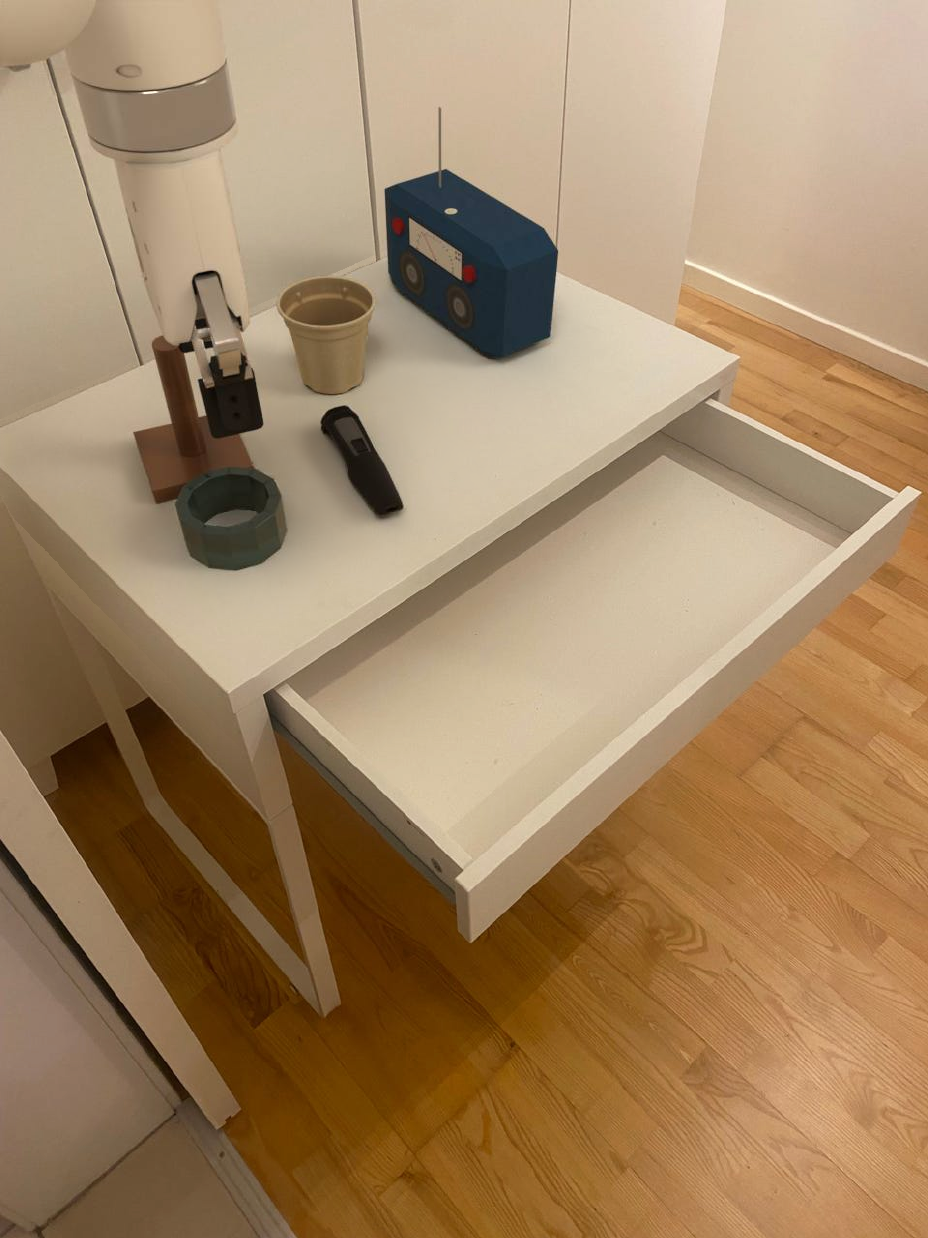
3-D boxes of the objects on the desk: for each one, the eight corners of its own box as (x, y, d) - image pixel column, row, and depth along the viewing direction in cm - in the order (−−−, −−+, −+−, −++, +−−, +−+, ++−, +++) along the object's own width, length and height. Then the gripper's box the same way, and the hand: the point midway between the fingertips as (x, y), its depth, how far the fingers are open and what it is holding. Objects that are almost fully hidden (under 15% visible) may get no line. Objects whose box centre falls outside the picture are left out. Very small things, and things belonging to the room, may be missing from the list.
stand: (156, 504, 84) (120, 383, 75) (136, 444, 90) (101, 325, 80) (256, 479, 87) (233, 359, 77) (231, 422, 92) (207, 304, 83)
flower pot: (362, 344, 102) (356, 267, 95) (393, 392, 96) (390, 314, 90) (276, 362, 99) (264, 285, 93) (303, 413, 93) (292, 335, 87)
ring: (198, 580, 78) (188, 545, 75) (176, 516, 83) (166, 480, 80) (297, 553, 81) (292, 518, 78) (270, 492, 86) (264, 457, 83)
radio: (378, 286, 110) (368, 99, 95) (440, 264, 113) (440, 81, 98) (490, 372, 99) (499, 176, 84) (555, 345, 102) (574, 152, 87)
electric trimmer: (372, 533, 83) (370, 506, 80) (317, 429, 92) (314, 401, 89) (413, 522, 84) (412, 495, 81) (355, 420, 93) (353, 392, 90)
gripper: (60, 54, 53) (137, 329, 66) (108, 187, 42) (188, 484, 55) (196, 37, 55) (245, 308, 68) (274, 160, 44) (314, 453, 57)
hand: (219, 387), depth 61 cm, fingers open, 9 cm apart
